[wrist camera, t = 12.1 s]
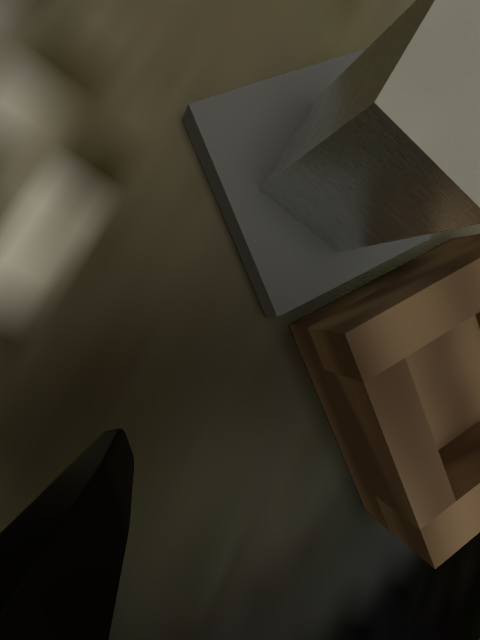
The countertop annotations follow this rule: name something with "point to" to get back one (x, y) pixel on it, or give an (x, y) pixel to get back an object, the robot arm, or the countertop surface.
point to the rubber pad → (257, 208)
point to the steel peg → (392, 136)
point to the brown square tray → (407, 394)
